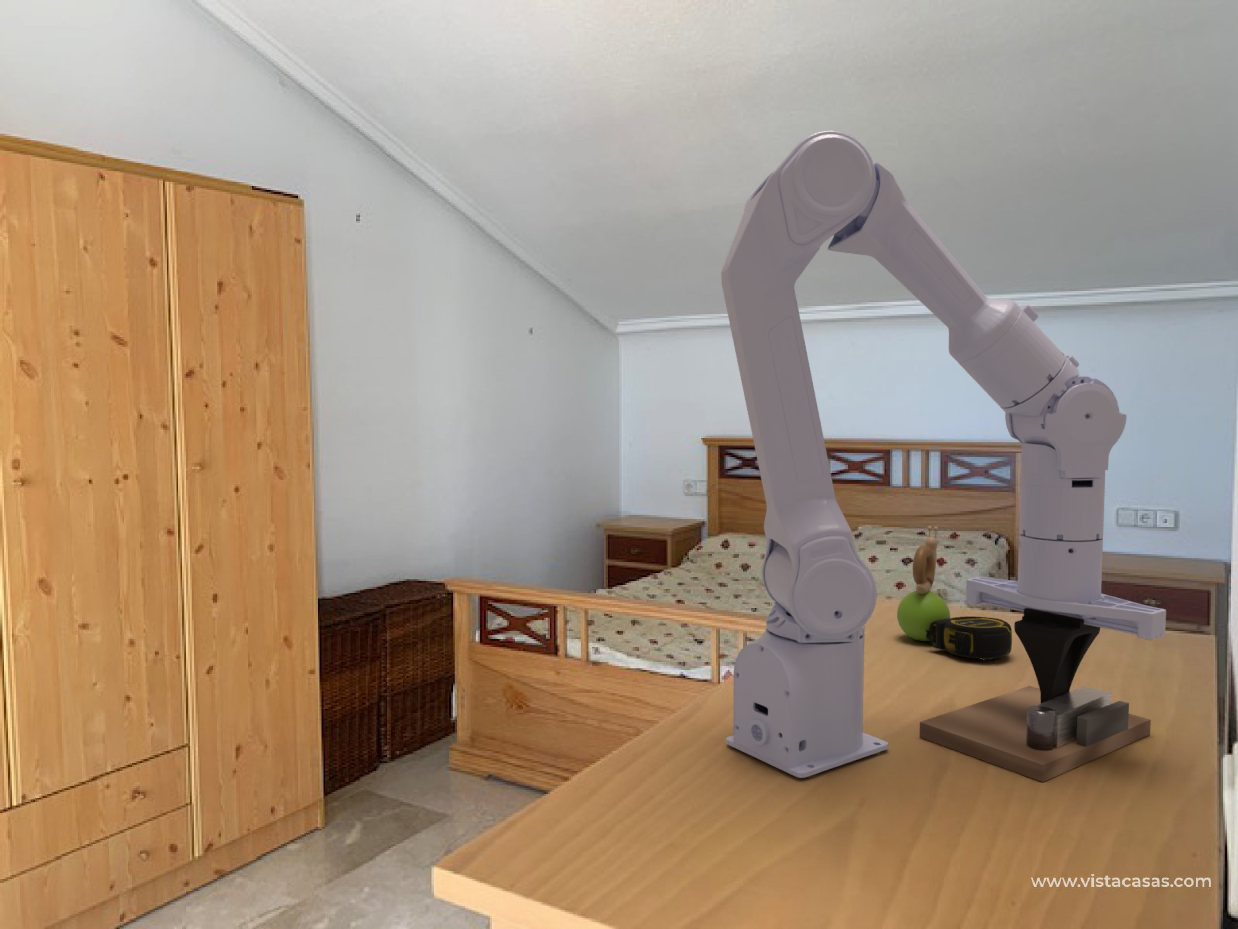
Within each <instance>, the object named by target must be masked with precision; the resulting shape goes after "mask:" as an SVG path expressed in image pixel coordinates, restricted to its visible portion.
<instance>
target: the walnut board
mask: <svg viewBox="0 0 1238 929" xmlns="http://www.w3.org/2000/svg"><path fill="white" fill-rule="evenodd" d="M1040 698H1041V692H1040V688H1039V687H1035V686H1031V685H1028V686H1025V687H1021V688H1019V689H1016V690H1013V691H1010V692H1007V693H1003V694H1000V695H997V696H994V697H992V698H988V699H985V700H983V701H979V702H977V703H973V704H971V705H967V706H963V707H961V708H959V709H955V710H952V711H949V712H946V713H943V714H939V715H937V716H934V717H931V718H928V719H925V720H921V721H919V738H921V739H924V740H926V741H929V742H932V743H934V744H937V745H940V746H943V747H946V748H949V749H951V750H954V751H956V752H960V753H962V754H964V755H968V756H970V757H973V758H976V759H978V760H982V761H983V762H987V763H989V764H992V765H994V766H998V767H1000V768H1002V769H1005V770H1009V771H1011V772H1014V773H1017V774H1020V775H1023V776H1025V777H1028V778H1030V779H1033V780H1036V781H1038V782H1041V783H1044V782H1047V781H1049V780H1051V779H1053V778H1055V777H1057V776H1061V775H1062V774H1065V773H1067V772H1069V771H1071V770H1074V769H1076V768H1078V767H1081V766H1083V765H1085V764H1087V763H1089V762H1092V761H1093V760H1094V761H1095V760H1097V759H1098V758H1100V757H1103V756H1105V755H1108V754H1109V753H1113V752H1114V751H1116V750H1118V749H1121V748H1123V747H1125V746H1128V745H1130V744H1132V743H1134V742H1136V741H1139V740H1142V739H1143V738H1146V737H1148V736H1151V722H1152V720H1151V719H1150V718H1148V717H1147V718H1146V717H1142V716H1139V715H1135V714H1132V713H1129V711H1130V703H1129V702H1125V701H1122V700H1118V701H1116V702H1113V703H1112V702H1111V704H1110V705H1107V706H1105V707H1102V708H1099V709H1097V710H1094V711H1092V712H1089V713H1086V714H1084V715H1081V716H1078V717H1077V739H1075V740H1073V741H1071V742H1069V743H1067V744H1065V745H1063V746H1060V747H1058V748H1056V747H1054V748H1053V749H1051V750H1038V749H1034V748H1031V747H1029V746H1028V745H1027V744H1026V735H1027V708H1028V707H1029V706H1036V705H1039V704H1041V700H1040Z"/></svg>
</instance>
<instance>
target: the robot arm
mask: <svg viewBox="0 0 1238 929" xmlns="http://www.w3.org/2000/svg"><path fill="white" fill-rule="evenodd" d="M831 237H832V239H831ZM829 239H831V241H830V243H829V244H828V247H827V251H832V252H836V253H846V254H852V255H859V256H860V255H861V256H866V257H867V256H868V257H872V258H873V259H875V260H876V261H877V262H878V263H879V264H880V265H881V266H882V267H884V269H886V270H887V272H888V273H890V274H891V275H892V276H893V277H894V278H895V279H896V280H897V281H898V282H899V283H900V284H901V285H902V286H904V287H905V289H906V290H908V291H909V293H911V294H912V295H913V296H914V297H915V298H916V299H917V300H918V301H919V302H920V303H922V305H923V306H924V307H925V308H927V309H928V310H929V311H930V312H931V313H932V314H933V315H934V316H936V318H937V319H939V321H941V323H943V325H945V327H947V329H948V352H949V355H950V356H951V357H952V358H953V359H954V360H955V361H956V362H957V363H958V365H959V366H960V367H962V369H963V370H965V372H966V373H967V374H968V375H969V376H970V377H971V378H972V380H974V381H975V383H977V384H978V385H979V387H981V388H982V389H983V391H984V392H986V393H987V394H988V396H989V397H990V398H991V399H992V400H993V401H994V402H995V403H996V405H998V406H999V407H1000V408H1001V409H1002V411H1004V414H1005V416H1004V419H1005V425H1006V428H1007V430H1008V431H1007V432H1008V433H1009V435H1010V437H1011V438H1012V439H1015V440H1017V441H1018V442H1019V443H1021V452H1020V454H1021V456H1020V482H1019V483H1020V484H1019V486H1020V487H1019V519H1018V520H1019V521H1018V523H1019V524H1018V557H1017V558H1018V559H1017V560H1018V561H1017V562H1018V563H1017V580H1012V579H1011V580H1008V579H1000V578H994V577H993V578H992V577H985V576H977V577H971V578H967V579H966V582H965V584H966V588H965V590H966V594H965V595H966V596H965V602H966V603H968V604H975V605H981V604H983V605H990V606H994V607H1000V608H1005V609H1009V610H1014V611H1017V612H1018V611H1019V612H1022V613H1023V616H1022V617H1021V619H1020V620H1016V621H1015V622H1014V623H1013V624H1014V625H1013V627H1014V632H1015V634H1016V636H1017V637H1018V639H1019V641H1020V642H1021V644H1022V646H1023V648H1024V650H1025V652H1026V654H1027V656H1028V658H1029V661H1030V663H1031V666H1032V668H1033V670H1034V671H1033V672H1034V674H1035V678H1036V682H1037V684H1038V688H1039V689H1040V692H1041V698H1040V700H1041V703H1044V702H1046V701H1049V700H1051V699H1054V698H1056V697H1059V696H1061V695H1064V694H1066V693H1069V692H1071V691H1070V690H1071V687H1072V684H1073V682H1074V678H1075V676H1076V673H1077V670H1078V669H1079V667H1080V664H1081V662H1082V660H1083V659H1084V657H1085V656H1086V653H1087V652H1088V650H1089V649H1090V646H1091V645H1092V644H1093V643H1094V641H1095V639H1096V638H1097V637H1098V635H1099V634H1100V631H1101V628H1102V629H1106V630H1112V631H1115V632H1116V631H1117V632H1121V633H1125V634H1130V635H1135V636H1136V637H1137V638H1138V639H1143V640H1148V641H1154V640H1158V639H1161V638H1163V637H1165V636H1166V622H1167V619H1166V618H1167V610H1166V608H1165V609H1164V608H1160V607H1159V608H1158V607H1156V606H1155V607H1154V606H1151V605H1150V606H1149V605H1145V604H1142V603H1138V602H1134V601H1130V600H1128V599H1127V600H1126V599H1123V598H1119V597H1116V596H1112V595H1108V594H1105V593H1102V582H1103V580H1102V575H1103V574H1102V573H1103V548H1104V546H1103V545H1104V524H1105V523H1104V520H1105V519H1104V518H1105V496H1106V495H1105V493H1106V491H1105V490H1106V471H1108V470H1109V457H1110V452H1111V451H1112V449H1113V447H1115V444H1117V443H1118V442H1119V439H1120V438H1121V437H1122V435H1123V433H1124V430H1125V429H1126V428H1125V427H1126V423H1127V414H1126V413H1122V412H1120V407H1119V404H1118V400H1117V397H1116V396H1115V394H1114V392H1113V390H1111V388H1110V387H1109V386H1108V385H1107V384H1106V383H1104V382H1103V381H1101V380H1100V379H1097V378H1091V376H1080V373H1079V369H1078V367H1079V366H1080V362H1079V361H1078V360H1077V358H1075V357H1074V356H1073V355H1072V354H1066V355H1065V354H1064V353H1063V352H1062V351H1061V350H1060V349H1059V347H1057V345H1056V344H1055V343H1054V342H1053V341H1052V340H1051V339H1050V338H1049V336H1048V335H1047V334H1046V333H1045V332H1044V331H1043V330H1042V329H1041V328H1040V327H1039V326H1038V325H1037V324H1036V323H1035V322H1036V320H1037V319H1038V318H1039V315H1038V313H1037V312H1036V311H1035V310H1034V309H1033V307H1031V306H1030V304H1024V305H1019V304H1018V303H1017V302H1016V301H1015V300H1013V299H1010V298H991V297H987V296H986V294H985V293H984V292H983V291H982V290H981V288H980V287H979V286H978V285H977V284H976V282H975V281H974V280H973V279H972V278H971V276H969V274H968V273H967V272H966V270H965V269H964V268H963V267H962V266H961V265H960V263H959V262H958V261H957V260H956V259H955V257H954V256H953V255H952V254H951V252H950V251H949V250H948V249H947V248H946V247H945V245H944V244H943V243H942V242H941V240H940V239H939V238H938V237H937V235H936V234H935V233H934V232H933V231H932V229H930V227H929V226H928V225H927V224H926V222H925V221H924V220H923V219H922V218H921V217H920V215H919V214H918V212H916V210H915V209H914V208H913V207H912V205H911V204H910V203H909V202H908V200H907V199H906V197H905V195H904V193H903V192H902V190H901V188H900V186H899V184H898V182H897V181H896V179H895V177H894V175H893V173H892V172H891V171H890V170H889V169H887V168H886V167H885V166H884V165H883V164H881V163H880V162H879V161H876V162H873V159H872V156H871V154H870V153H869V151H868V150H867V148H866V146H865V145H863V144H862V142H860V141H859V140H858V139H856V138H855V137H853V136H851V135H850V134H848V133H845V132H842V131H837V130H825V131H818V132H816V133H813V134H810V135H807V137H805V138H803V139H802V140H801V141H800V142H799V143H798V144H797V145H796V146H795V147H794V148H793V149H792V150H791V151H790V152H789V154H788V155H787V156H786V157H785V158H784V159H783V161H781V163H780V164H779V165H778V166H777V167H776V169H775V170H773V172H771V173H770V174H769V175H768V176H767V177H765V179H764V180H763V181H762V182H761V184H759V186H758V187H757V188H756V189H755V191H754V192H753V193H752V194H751V195H750V196H749V198H747V200H746V201H745V205H744V209H743V214H742V216H741V219H740V222H739V225H738V226H737V230H736V233H735V235H734V238H733V240H732V241H731V242H732V243H731V245H730V248H729V250H728V253H727V256H726V258H725V261H724V264H723V266H722V269H721V272H720V273H721V274H720V275H721V277H720V278H721V286H722V292H723V296H724V297H723V298H724V302H725V307H726V311H727V312H726V313H727V317H728V322H729V327H730V331H731V336H732V342H733V346H734V351H735V357H736V361H737V365H738V366H737V367H738V370H739V376H740V381H741V386H742V391H743V395H744V401H745V406H746V412H747V414H748V420H749V425H750V429H751V436H752V438H753V445H754V449H755V455H756V459H757V465H758V470H759V474H760V479H761V485H762V490H763V495H764V499H765V505H766V512H765V517H764V523H763V530H764V536H765V543H766V547H765V554H764V557H763V560H762V563H761V564H762V565H761V570H760V571H761V581H762V586H763V587H764V590H765V591H766V593H767V596H769V597H770V598H771V600H772V601H773V602H774V605H773V606H772V608H771V609H770V611H769V613H768V616H767V617H766V619H765V621H766V622H765V624H766V625H765V626H766V629H764V632H763V633H762V635H761V636H760V637H759V638H758V639H756V640H755V641H753V642H750V643H748V644H746V645H745V646H743V647H742V648H741V649H740V651H739V652H738V654H737V656H736V658H735V662H734V667H733V719H732V720H733V723H732V724H733V728H732V730H733V732H732V735H728V736H727V737H726V738H725V743H726V745H728V746H729V747H732V748H734V749H736V750H738V751H740V752H742V753H745V754H747V755H748V756H751V757H753V758H755V759H757V760H760V761H761V762H764V763H766V764H768V765H770V766H773V767H774V768H777V769H779V770H781V771H782V772H785V773H787V774H789V775H791V776H794V777H796V778H799V779H804V778H808V777H811V776H814V775H816V774H819V773H823V772H825V771H828V770H830V769H834V768H836V767H840V766H842V765H846V764H848V763H851V762H854V761H856V760H857V761H858V760H860V759H863V758H865V757H869V756H871V755H875V754H878V753H880V752H883V751H886V750H888V749H889V742H888V741H886V740H884V739H881V738H878V737H876V736H874V735H870V734H868V733H866V732H864V694H865V693H864V691H865V690H864V682H865V680H864V679H865V675H864V674H865V632H866V628H865V627H866V624H867V623H868V622H869V620H870V619H871V617H872V615H873V612H874V611H875V608H876V604H877V598H878V590H877V582H876V580H875V577H874V575H873V573H872V572H871V570H870V568H869V567H868V566H867V564H866V562H864V560H862V559H861V557H860V555H859V554H858V551H857V549H856V546H855V542H854V536H853V532H852V529H851V527H850V525H849V523H848V521H847V519H846V518H845V516H844V514H843V511H842V510H841V508H840V505H839V503H838V502H837V499H836V492H835V489H834V483H833V479H832V473H831V469H830V463H829V457H828V453H827V449H826V444H825V443H826V442H825V437H824V433H823V432H824V431H823V429H822V428H823V427H822V423H821V419H820V418H821V417H820V412H819V407H818V403H817V402H818V401H817V398H816V397H817V396H816V392H815V386H814V382H813V376H812V372H811V367H810V362H809V358H808V357H809V356H808V352H807V347H806V342H805V336H804V331H803V325H802V322H801V316H800V311H799V306H798V301H797V294H796V290H795V285H796V282H797V280H798V279H799V278H800V276H802V274H803V272H804V271H805V270H806V268H807V267H808V265H809V264H810V263H811V261H812V260H813V259H814V257H815V256H816V254H818V252H819V250H821V249H820V248H821V246H823V244H824V243H826V242H827V241H828V240H829Z"/></svg>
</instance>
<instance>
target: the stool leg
mask: <svg viewBox="0 0 1238 929" xmlns="http://www.w3.org/2000/svg"><path fill="white" fill-rule="evenodd" d="M1110 704H1112V692H1111V691H1106V690H1103V689H1098V688H1095V687H1092V686H1087V685H1084V686H1082V687H1079V688H1076V689H1074V690H1072V691H1070V692H1069V693H1066V694H1064V695H1061V696H1059V697H1056V698H1054V699H1051V700H1049V701H1046V702H1044V703H1041V704H1039V705H1036V706H1029V707H1028V708H1027V735H1026V744H1027V745H1028V746H1029V747H1031V748H1034V749H1038V750H1051V749H1053V748H1054V747H1056V748H1058V747H1060V746H1063V745H1065V744H1067V743H1069V742H1071V741H1073V740H1075V739H1077V717H1078V716H1081V715H1084V714H1086V713H1089V712H1092V711H1094V710H1097V709H1099V708H1102V707H1105V706H1107V705H1110Z"/></svg>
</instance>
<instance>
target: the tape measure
mask: <svg viewBox="0 0 1238 929" xmlns="http://www.w3.org/2000/svg"><path fill="white" fill-rule="evenodd" d="M926 632H927V634H926V638H927V639H928V640H930V641H929V644H930V646H932V648H935V649H938V650H944V651H946V652H948V653H950V654H952V655H954V656H958V657H959V656H960V657H963V658H970V659H978V658H982V659H984V660H983V661H986V660H985V659H988V660H991V659H990V658H993V659H997V658H1003V657H1005V656H1008V655H1010V653H1011V652H1012V645H1013V632H1012V626H1011V625H1010V623H1008V621H1006V620H1004V619H1002V618H1001V619H1000V618H997V617H988V616H987V617H986V616H973V615H972V616H971V615H970V616H967V615H966V616H957V617H950V619H943V620H936V621H934V622H932V623H931V624H930V627H929V630H927V629H926ZM982 659H981V660H982Z"/></svg>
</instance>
